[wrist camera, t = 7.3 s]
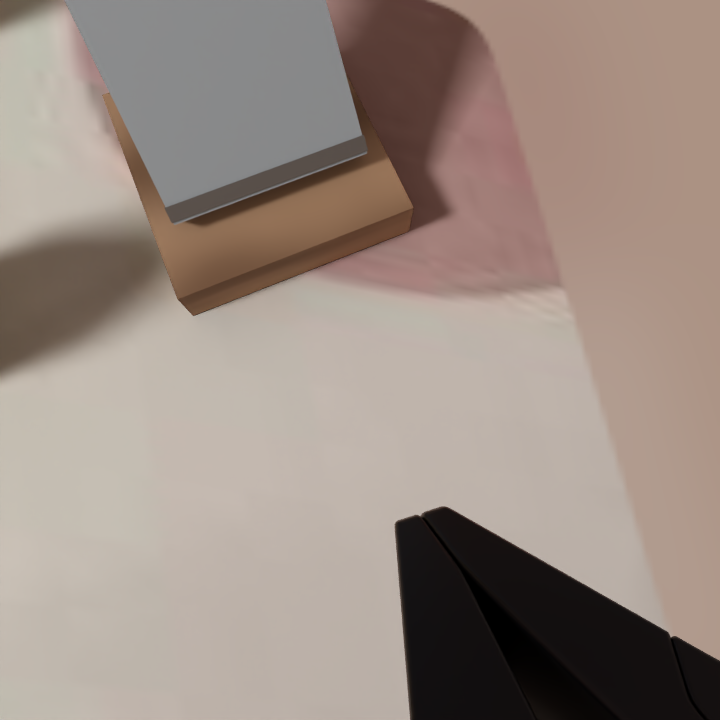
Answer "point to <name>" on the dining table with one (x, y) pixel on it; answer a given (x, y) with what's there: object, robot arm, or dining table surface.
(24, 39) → the dining table surface
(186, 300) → the ticket block
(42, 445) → the dining table surface
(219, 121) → the grey rectangular panel
